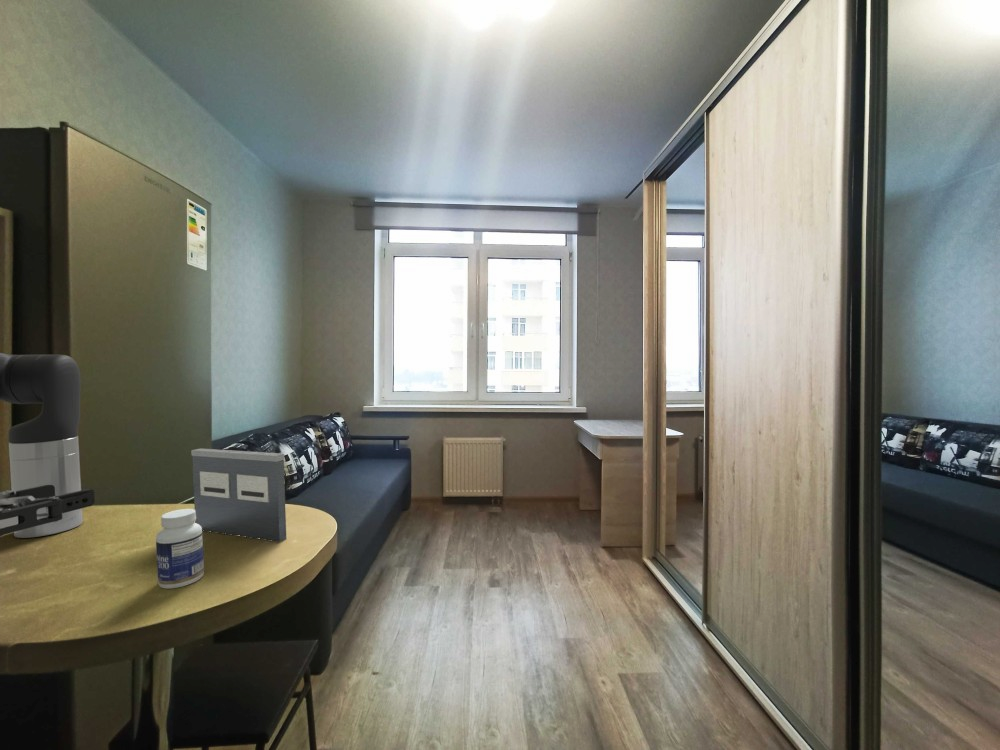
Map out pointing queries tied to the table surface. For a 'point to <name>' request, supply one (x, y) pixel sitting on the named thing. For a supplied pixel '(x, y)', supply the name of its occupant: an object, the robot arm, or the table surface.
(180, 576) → the pill bottle
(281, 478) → the label panel
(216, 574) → the table surface
